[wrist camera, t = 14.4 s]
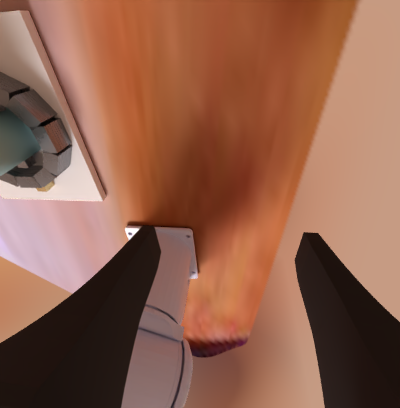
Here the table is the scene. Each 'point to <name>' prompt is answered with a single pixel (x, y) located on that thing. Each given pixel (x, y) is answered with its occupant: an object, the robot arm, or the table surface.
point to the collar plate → (46, 83)
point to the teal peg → (15, 142)
